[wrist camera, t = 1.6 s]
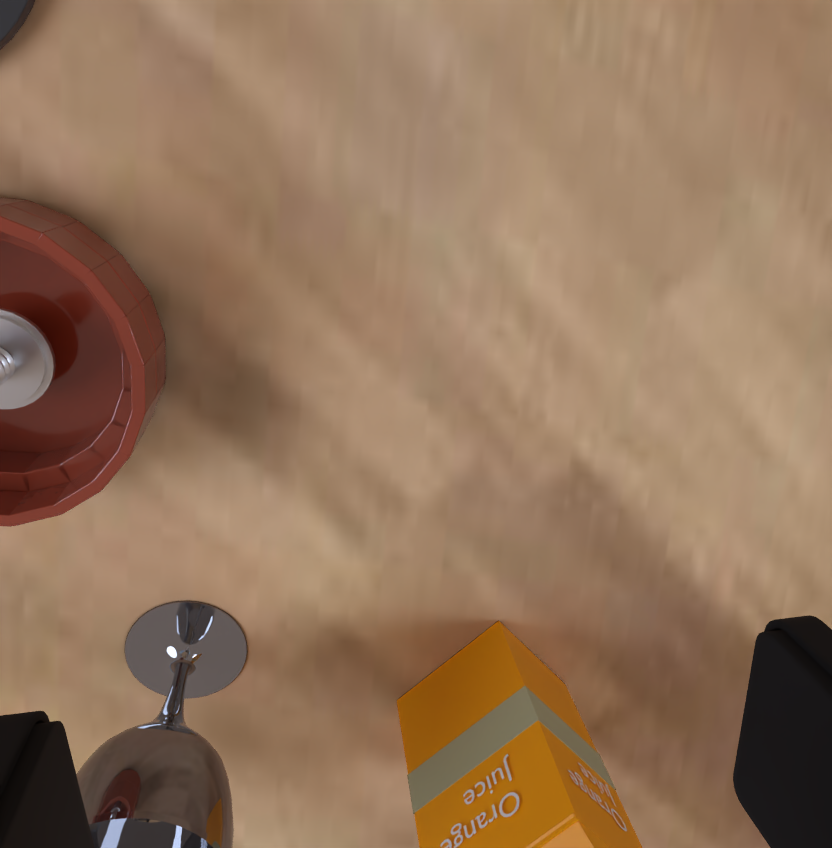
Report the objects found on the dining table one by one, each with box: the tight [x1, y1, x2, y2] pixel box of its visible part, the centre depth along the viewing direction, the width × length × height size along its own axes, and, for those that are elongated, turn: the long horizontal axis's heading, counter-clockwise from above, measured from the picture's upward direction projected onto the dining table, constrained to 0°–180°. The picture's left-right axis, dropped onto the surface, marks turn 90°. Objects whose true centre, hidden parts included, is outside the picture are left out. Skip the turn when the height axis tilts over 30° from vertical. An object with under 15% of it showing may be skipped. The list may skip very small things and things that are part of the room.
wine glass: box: [76, 601, 247, 848], centre depth 36 cm, size 8×8×15 cm
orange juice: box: [397, 621, 642, 848], centre depth 38 cm, size 8×9×20 cm
